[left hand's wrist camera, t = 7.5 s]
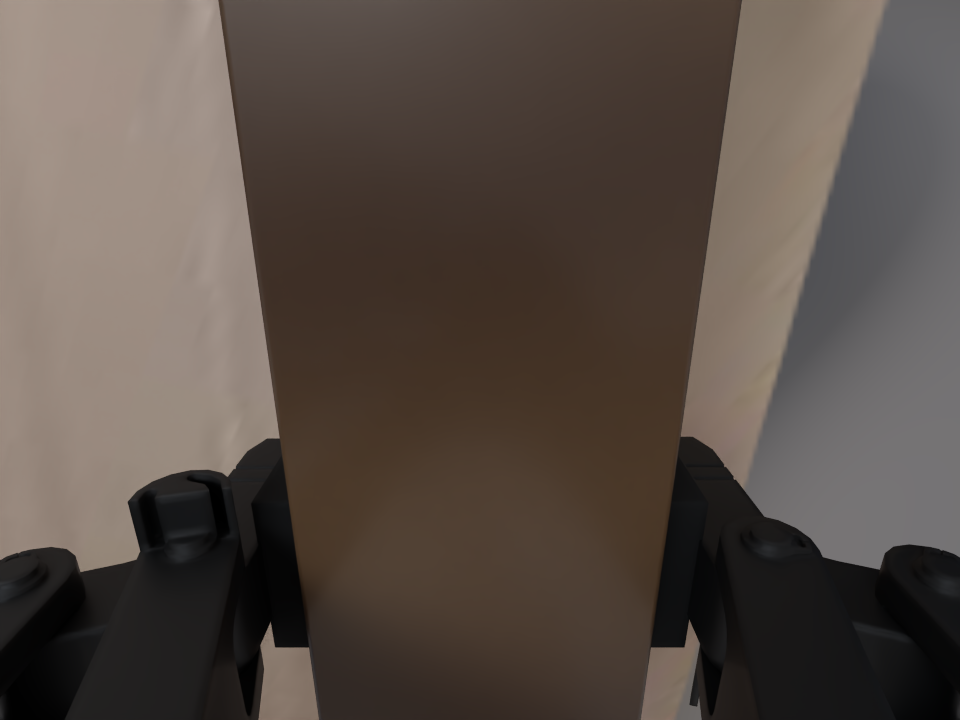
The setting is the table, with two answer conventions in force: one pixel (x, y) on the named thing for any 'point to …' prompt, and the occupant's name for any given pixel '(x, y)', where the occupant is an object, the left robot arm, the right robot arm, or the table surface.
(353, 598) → the beam
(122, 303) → the table surface
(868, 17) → the table surface
